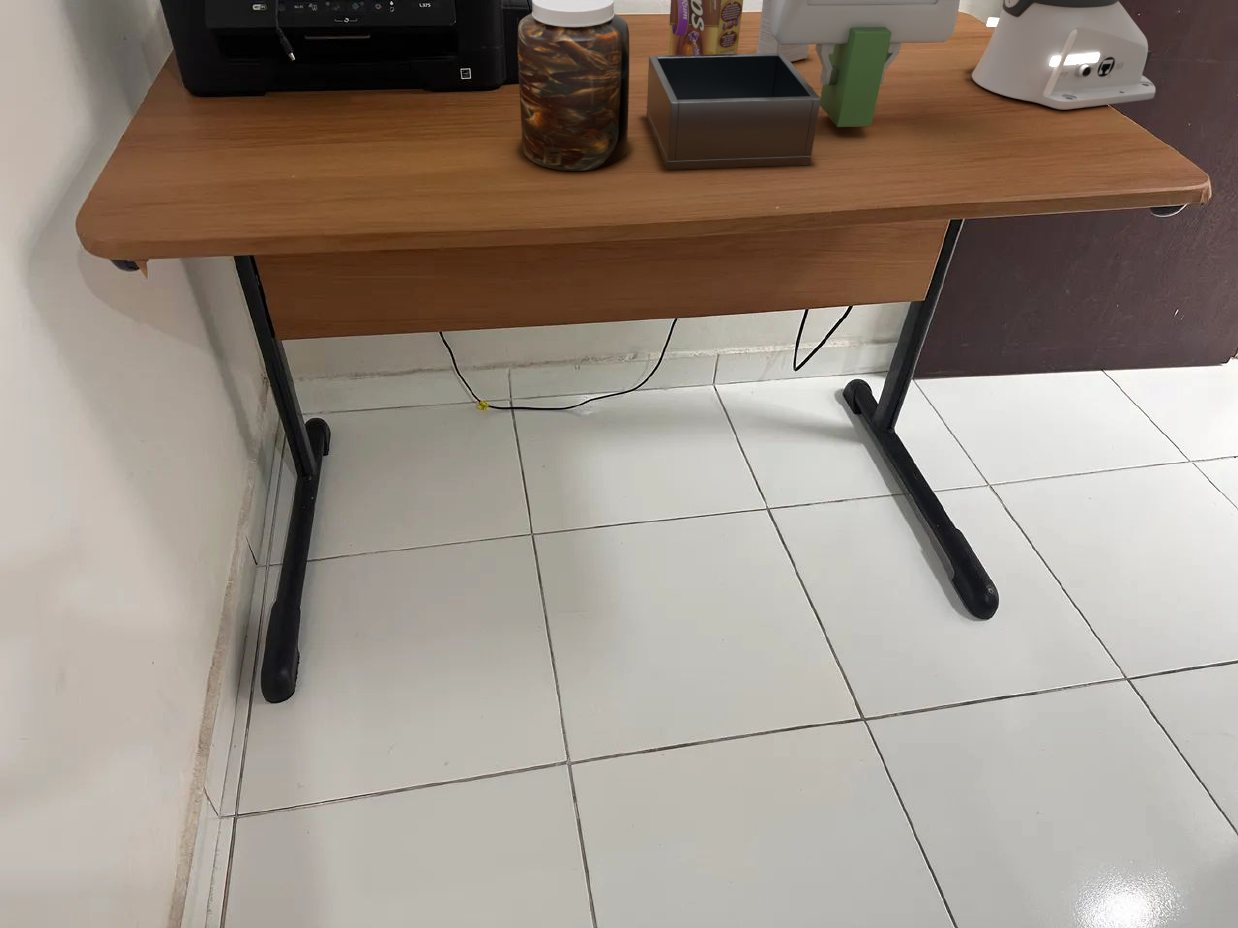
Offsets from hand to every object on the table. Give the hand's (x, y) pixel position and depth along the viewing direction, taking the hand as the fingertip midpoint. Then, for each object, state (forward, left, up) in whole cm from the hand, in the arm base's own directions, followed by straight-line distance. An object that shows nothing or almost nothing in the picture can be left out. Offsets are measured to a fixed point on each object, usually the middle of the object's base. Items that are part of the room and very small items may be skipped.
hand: (850, 83), depth 98 cm
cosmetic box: (+1, -24, -5) cm, 25 cm away
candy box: (+14, -16, -5) cm, 22 cm away
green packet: (0, 0, -4) cm, 4 cm away
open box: (+15, +3, -5) cm, 16 cm away
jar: (+32, +4, -5) cm, 32 cm away
